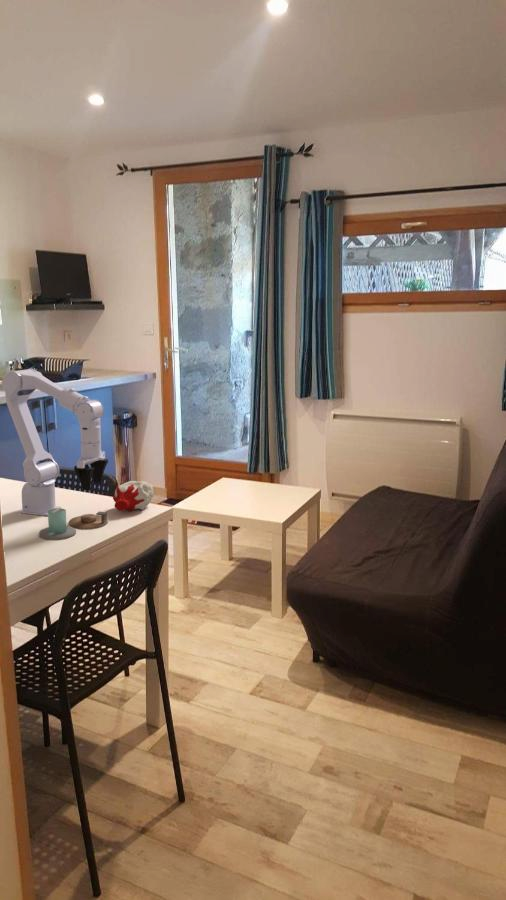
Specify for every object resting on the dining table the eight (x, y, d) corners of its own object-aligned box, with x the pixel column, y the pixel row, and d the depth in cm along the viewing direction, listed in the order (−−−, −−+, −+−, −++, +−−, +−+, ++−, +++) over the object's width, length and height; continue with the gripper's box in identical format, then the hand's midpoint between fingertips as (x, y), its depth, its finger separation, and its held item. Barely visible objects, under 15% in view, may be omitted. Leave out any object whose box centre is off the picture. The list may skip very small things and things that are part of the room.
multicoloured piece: (155, 502, 213) (139, 522, 199) (123, 499, 215) (104, 519, 201) (154, 477, 210) (137, 495, 196) (121, 474, 212) (102, 492, 198)
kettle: (54, 527, 187) (54, 506, 185) (69, 529, 185) (69, 508, 184) (42, 534, 181) (41, 512, 179) (57, 536, 179) (56, 514, 178)
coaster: (32, 537, 180) (31, 535, 180) (50, 526, 189) (50, 524, 189) (65, 541, 178) (65, 539, 178) (82, 529, 187) (82, 527, 187)
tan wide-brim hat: (61, 527, 189) (61, 515, 188) (79, 515, 200) (79, 504, 199) (97, 530, 187) (97, 519, 186) (114, 518, 198) (113, 507, 197)
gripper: (92, 447, 183) (93, 494, 186) (113, 437, 197) (114, 481, 200) (69, 445, 185) (71, 491, 188) (92, 436, 199) (93, 479, 202)
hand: (92, 486), depth 194 cm, fingers open, 7 cm apart
